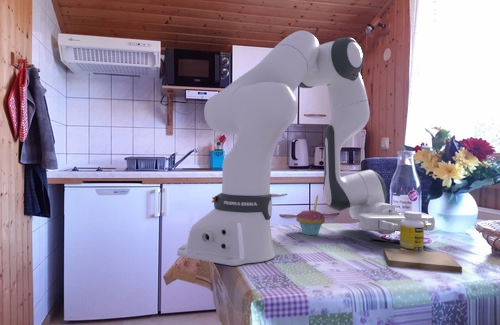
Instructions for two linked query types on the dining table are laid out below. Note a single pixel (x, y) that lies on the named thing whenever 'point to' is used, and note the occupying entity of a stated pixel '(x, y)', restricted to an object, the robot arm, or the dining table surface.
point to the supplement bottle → (412, 232)
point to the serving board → (421, 260)
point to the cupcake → (310, 220)
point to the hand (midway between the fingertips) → (412, 227)
